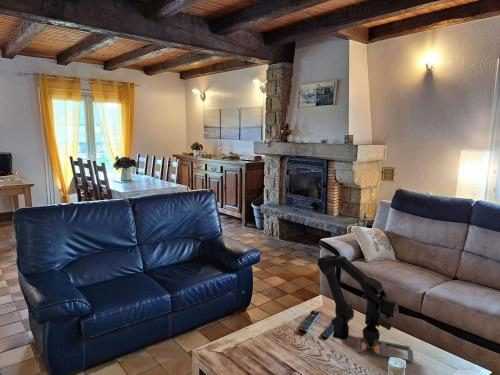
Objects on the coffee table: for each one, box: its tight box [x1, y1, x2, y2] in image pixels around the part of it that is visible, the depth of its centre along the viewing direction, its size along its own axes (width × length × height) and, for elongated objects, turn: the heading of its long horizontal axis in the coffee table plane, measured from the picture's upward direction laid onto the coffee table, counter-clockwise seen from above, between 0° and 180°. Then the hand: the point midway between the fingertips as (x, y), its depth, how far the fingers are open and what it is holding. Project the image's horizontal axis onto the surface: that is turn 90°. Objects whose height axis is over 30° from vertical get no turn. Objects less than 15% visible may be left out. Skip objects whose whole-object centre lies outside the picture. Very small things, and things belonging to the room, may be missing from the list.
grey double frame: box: [356, 336, 412, 364], centre depth 158 cm, size 22×11×1 cm, turn 69°
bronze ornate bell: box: [362, 328, 381, 350], centre depth 160 cm, size 8×7×8 cm
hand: (370, 341), depth 160 cm, fingers open, 9 cm apart
